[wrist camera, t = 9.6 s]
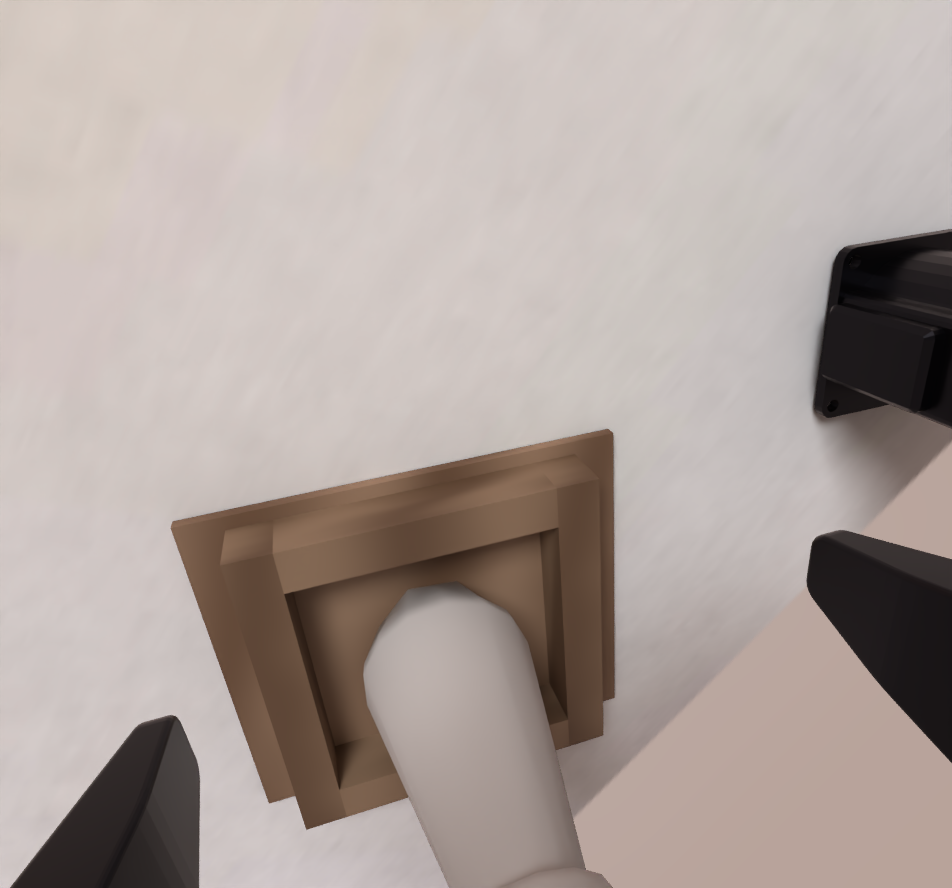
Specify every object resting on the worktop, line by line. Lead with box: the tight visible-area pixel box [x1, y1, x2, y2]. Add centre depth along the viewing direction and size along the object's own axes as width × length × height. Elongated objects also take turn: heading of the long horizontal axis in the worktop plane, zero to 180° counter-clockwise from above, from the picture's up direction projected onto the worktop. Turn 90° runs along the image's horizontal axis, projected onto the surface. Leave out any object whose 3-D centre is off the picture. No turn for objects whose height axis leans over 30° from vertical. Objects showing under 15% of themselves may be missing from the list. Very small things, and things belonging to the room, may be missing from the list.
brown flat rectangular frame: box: [171, 429, 614, 830], centre depth 23 cm, size 15×13×2 cm
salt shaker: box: [363, 581, 613, 888], centre depth 18 cm, size 6×6×13 cm
